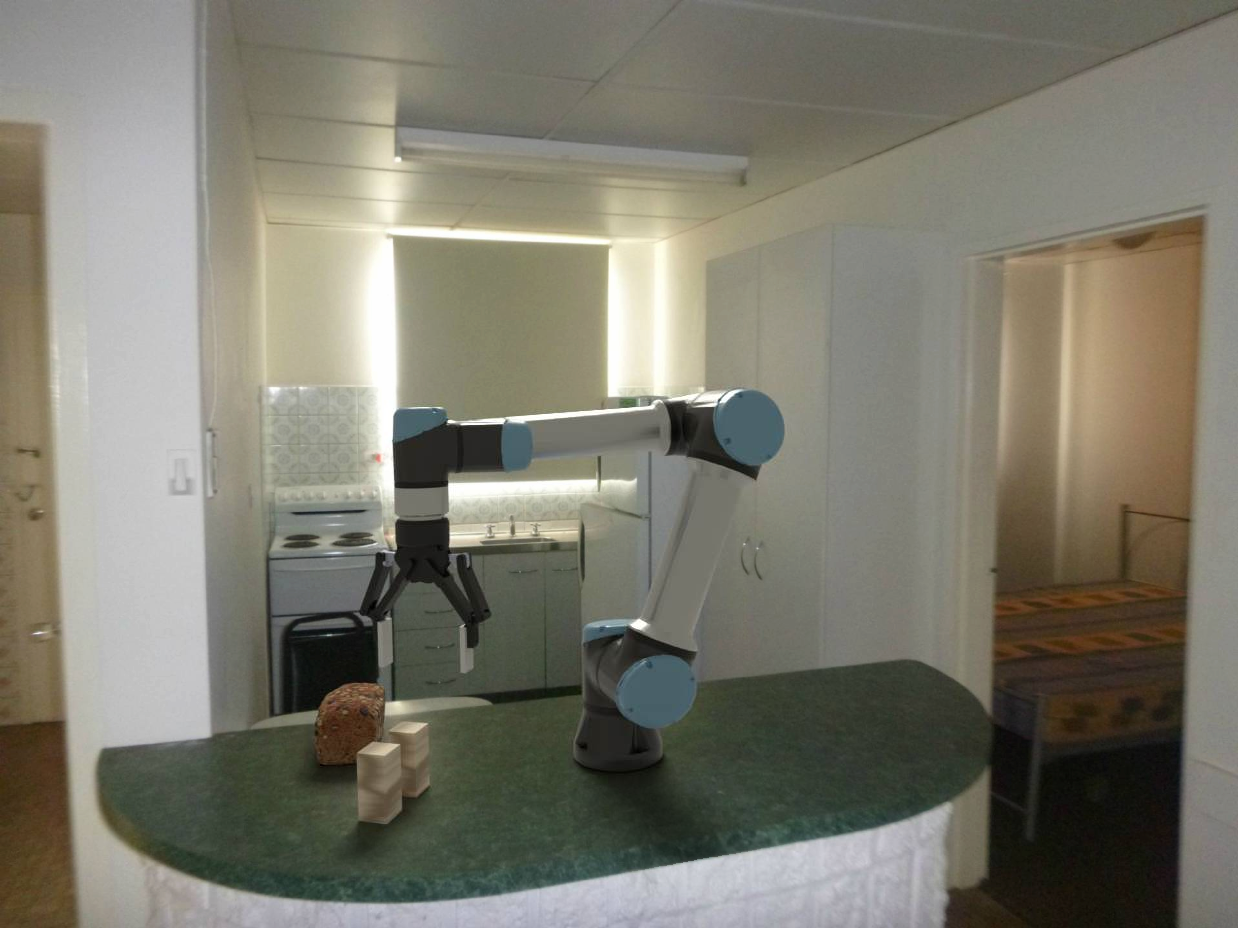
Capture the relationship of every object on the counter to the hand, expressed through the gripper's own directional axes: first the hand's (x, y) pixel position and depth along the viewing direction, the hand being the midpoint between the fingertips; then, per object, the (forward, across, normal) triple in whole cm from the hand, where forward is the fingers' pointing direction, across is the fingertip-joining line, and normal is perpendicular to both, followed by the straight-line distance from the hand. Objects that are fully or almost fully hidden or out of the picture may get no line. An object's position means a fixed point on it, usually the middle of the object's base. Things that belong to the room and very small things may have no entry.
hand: (426, 667), depth 128 cm
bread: (+23, +27, -24) cm, 42 cm away
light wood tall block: (+22, +8, -9) cm, 25 cm away
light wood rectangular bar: (+22, +8, 0) cm, 24 cm away
